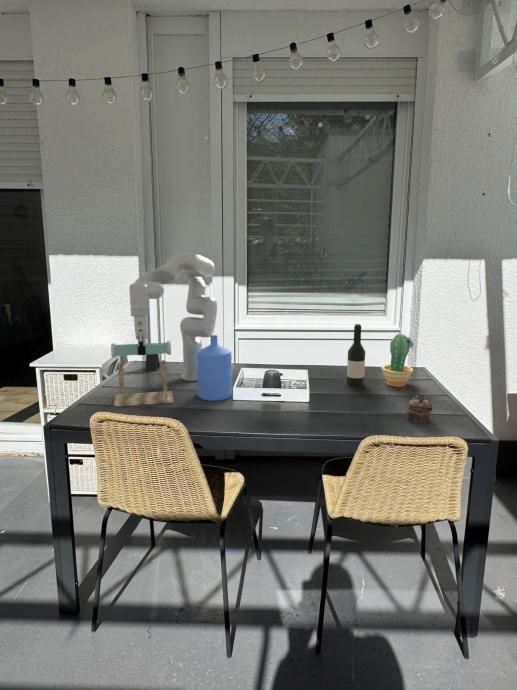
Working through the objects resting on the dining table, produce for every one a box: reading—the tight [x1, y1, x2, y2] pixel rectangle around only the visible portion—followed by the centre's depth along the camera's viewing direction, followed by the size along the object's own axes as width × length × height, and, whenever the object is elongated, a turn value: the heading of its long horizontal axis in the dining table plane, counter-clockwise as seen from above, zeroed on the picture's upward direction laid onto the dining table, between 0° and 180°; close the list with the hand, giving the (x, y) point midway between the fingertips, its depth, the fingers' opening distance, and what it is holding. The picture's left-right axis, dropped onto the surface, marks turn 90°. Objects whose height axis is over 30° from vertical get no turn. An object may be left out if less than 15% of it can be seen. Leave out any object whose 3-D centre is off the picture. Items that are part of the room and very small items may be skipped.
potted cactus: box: [380, 333, 414, 388], centre depth 239 cm, size 15×15×25 cm
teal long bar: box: [110, 340, 172, 359], centre depth 213 cm, size 25×6×6 cm, turn 102°
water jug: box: [197, 334, 233, 402], centre depth 221 cm, size 16×16×28 cm
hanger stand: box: [113, 359, 174, 407], centre depth 216 cm, size 25×12×16 cm, turn 103°
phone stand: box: [145, 354, 161, 372], centre depth 267 cm, size 9×6×12 cm, turn 178°
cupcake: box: [405, 394, 433, 424], centre depth 194 cm, size 10×10×10 cm
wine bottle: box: [346, 323, 366, 388], centre depth 238 cm, size 8×8×30 cm
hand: (141, 353), depth 213 cm, fingers closed on teal long bar, 4 cm apart
